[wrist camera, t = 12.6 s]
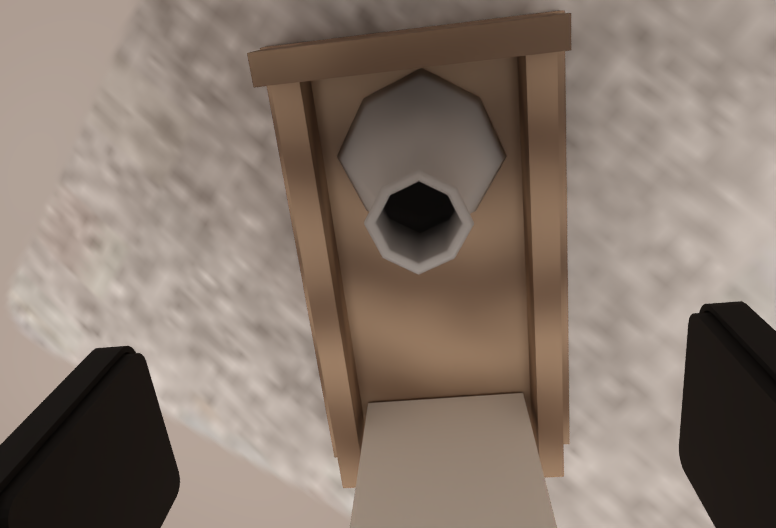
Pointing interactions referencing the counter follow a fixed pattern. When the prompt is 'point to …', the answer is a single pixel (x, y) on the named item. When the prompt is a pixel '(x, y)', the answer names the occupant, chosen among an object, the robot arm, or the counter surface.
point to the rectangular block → (451, 466)
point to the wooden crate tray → (478, 252)
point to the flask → (421, 167)
